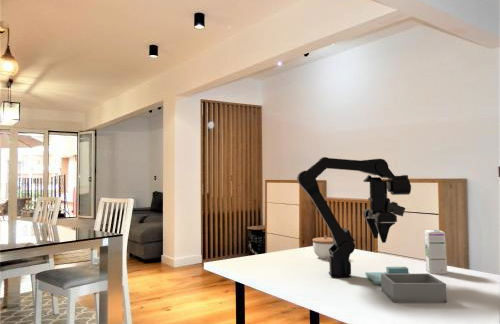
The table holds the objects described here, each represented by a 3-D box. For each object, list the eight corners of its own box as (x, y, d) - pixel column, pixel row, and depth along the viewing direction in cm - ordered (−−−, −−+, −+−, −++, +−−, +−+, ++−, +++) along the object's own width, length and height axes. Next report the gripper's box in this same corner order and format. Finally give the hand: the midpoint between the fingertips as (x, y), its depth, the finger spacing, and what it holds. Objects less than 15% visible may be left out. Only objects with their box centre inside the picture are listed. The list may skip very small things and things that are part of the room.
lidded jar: (311, 255, 167) (311, 233, 167) (336, 255, 167) (335, 233, 167) (314, 260, 156) (314, 237, 157) (341, 260, 156) (340, 237, 156)
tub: (393, 302, 103) (393, 283, 103) (381, 290, 114) (380, 273, 114) (446, 302, 102) (446, 283, 102) (429, 290, 113) (428, 273, 113)
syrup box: (447, 274, 132) (446, 232, 132) (429, 273, 133) (428, 231, 133) (442, 270, 137) (441, 229, 138) (425, 269, 138) (424, 229, 139)
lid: (375, 286, 119) (374, 268, 119) (365, 277, 130) (365, 260, 131) (422, 286, 118) (422, 268, 119) (408, 277, 130) (408, 260, 130)
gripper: (412, 196, 122) (414, 245, 122) (393, 193, 141) (394, 236, 140) (377, 196, 123) (378, 245, 122) (362, 194, 141) (363, 236, 141)
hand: (379, 240), depth 131 cm, fingers open, 9 cm apart
